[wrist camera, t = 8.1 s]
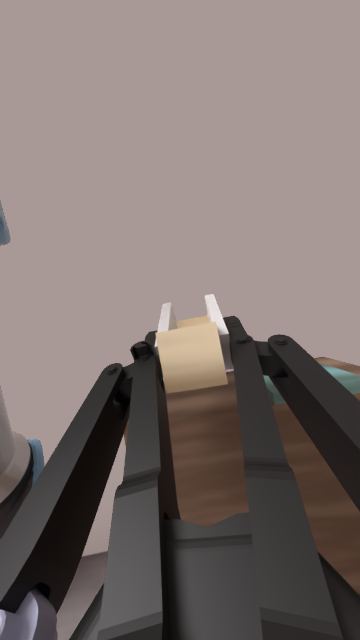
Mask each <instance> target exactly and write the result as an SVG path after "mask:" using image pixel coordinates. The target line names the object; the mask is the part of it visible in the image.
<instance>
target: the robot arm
mask: <svg viewBox="0 0 360 640" xmlns="http://www.w3.org/2000/svg"><path fill="white" fill-rule="evenodd" d="M9 242H10V235H9V230H8V226H7V223H6V220H5V216H4V213H3V209H2V206H1V202H0V245H5V244H8V243H9ZM205 301H206V308H207V312H208V319H209V323H210V322H216V324H217V330H218V335H219V340H220V345H221V350H222V355H223V360H224V365H225V370H227V369H233V368H234V377H235V386H236V395H237V405H238V414H239V423H240V432H241V441H242V450H243V460H244V470H245V479H246V488H247V498H248V507H249V513H237V514H235V515H233V516H231V517H228V518H226V519H224V520H222V521H220V522H218V523H216V524H214V525H211V526H209V527H204V526H201V525H197V524H194V523H190V522H187V521H183V520H181V517H180V513H179V509H178V503H177V494H176V484H175V475H174V466H173V457H172V447H171V438H170V429H169V419H168V410H167V401H166V392H165V384H164V381H163V372H162V367H161V361H160V356H159V350H158V345H157V339H156V334H155V333H157V332H163V331H168V330H173V329H178V327H177V323H176V319H175V316H174V312H173V308H172V304H171V303H165V304H163V306H162V311H161V316H160V322H159V326H158V330H157V331H152V332H149V333H148V334H147V335H146V337H145V341H141V342H138V343H136V344H134V345H133V346H132V347H131V349H130V351H131V353H132V355H133V358H134V363H132V364H130V365H128V366H126V367H122V365H121V364H120V363H115V364H111V365H109V366H107V367H106V368H105V369H104V370H103V371H102V373H101V375H100V376H99V378H98V380H97V381H96V383H95V384H94V386H93V388H92V389H91V391H90V393H89V394H88V396H87V398H86V399H85V401H84V403H83V404H82V406H81V407H80V409H79V411H78V413H77V414H76V416H75V418H74V419H73V421H72V422H71V424H70V426H69V428H68V429H67V431H66V432H65V434H64V436H63V437H62V439H61V441H60V442H59V444H58V446H57V447H56V449H55V451H54V452H53V454H52V455H51V457H50V459H49V460H48V462H47V464H46V466H45V467H44V457H43V451H42V446H41V443H40V441H39V440H37V439H33V440H26V439H25V438H24V437H23V436H22V435H21V434H19V433H16V432H13V431H11V428H10V423H9V419H8V415H7V411H6V407H5V403H4V399H3V395H2V391H1V387H0V640H57V631H56V623H57V618H56V614H57V612H58V610H59V609H60V607H61V605H62V603H63V600H64V598H65V596H66V594H67V591H68V589H69V587H70V585H71V582H72V580H73V578H74V575H75V572H76V570H77V567H78V564H79V562H80V559H81V556H82V554H83V551H84V548H85V545H86V542H87V539H88V536H89V533H90V530H91V527H92V524H93V521H94V519H95V516H96V513H97V510H98V506H99V504H100V501H101V498H102V495H103V492H104V489H105V486H106V483H107V480H108V478H109V475H110V472H111V469H112V466H113V463H114V460H115V457H116V454H117V451H118V448H119V445H120V442H121V440H122V437H123V434H124V431H125V428H126V425H127V422H128V419H129V423H128V434H127V445H126V456H125V466H124V477H123V482H122V484H121V485H119V486H118V487H117V490H116V493H115V498H114V505H113V514H112V523H111V531H110V539H109V547H108V556H107V564H106V573H105V581H104V584H103V585H102V587H101V589H100V590H99V592H98V594H97V595H96V597H95V598H94V600H93V602H92V603H91V605H90V607H89V608H88V610H87V611H86V613H85V615H84V616H83V618H82V620H81V621H80V623H79V625H78V626H77V628H76V629H75V631H74V633H73V634H72V636H71V638H70V639H69V640H360V595H359V594H358V593H357V592H356V591H355V590H354V589H353V588H352V587H351V585H350V584H349V583H348V582H347V581H346V580H345V579H344V578H343V577H342V576H341V575H340V574H339V573H338V572H337V571H336V570H335V569H334V568H333V566H332V565H331V564H330V563H329V562H328V561H327V560H326V559H325V558H324V557H323V556H322V555H321V554H320V553H319V552H318V551H317V549H316V546H315V542H314V539H313V535H312V532H311V529H310V525H309V522H308V518H307V515H306V512H305V508H304V505H303V501H302V498H301V494H300V491H299V488H298V484H297V481H296V478H295V475H294V472H293V470H292V468H291V467H290V466H289V464H288V462H287V458H286V455H285V451H284V448H283V444H282V441H281V437H280V433H279V430H278V426H277V423H276V419H275V416H274V412H273V408H272V405H271V401H270V398H269V394H268V391H267V387H266V383H265V380H264V376H269V378H270V380H271V381H272V383H273V384H274V386H275V387H276V389H277V390H278V392H279V393H280V395H281V396H282V397H283V399H284V400H285V402H286V403H287V405H288V406H289V408H290V409H291V411H292V412H293V414H294V415H295V417H296V418H297V420H298V421H299V423H300V424H301V426H302V427H303V429H304V430H305V432H306V433H307V435H308V436H309V437H310V439H311V440H312V442H313V443H314V445H315V446H316V448H317V449H318V451H319V452H320V454H321V455H322V457H323V458H324V460H325V461H326V463H327V464H328V466H329V467H330V469H331V470H332V472H333V473H334V475H335V476H336V478H337V479H338V480H339V482H340V483H341V485H342V486H343V488H344V489H345V491H346V492H347V494H348V495H349V497H350V498H351V500H352V501H353V503H354V504H355V506H356V507H357V509H358V510H359V512H360V401H359V400H358V399H357V398H356V397H355V396H354V395H353V394H352V393H351V392H350V391H349V390H347V389H346V388H345V387H344V386H343V385H342V384H341V383H340V382H339V381H338V380H337V379H335V378H334V377H333V376H332V375H331V374H330V373H329V372H328V371H327V370H326V369H325V368H324V367H322V366H321V365H320V364H319V363H318V362H317V361H316V360H315V359H314V358H313V357H312V356H311V355H309V354H308V353H307V352H306V351H305V350H304V349H303V348H302V347H301V346H300V345H299V344H297V343H296V342H295V341H294V340H293V339H292V338H290V337H289V336H285V335H274V336H271V337H270V338H269V339H268V342H259V341H254V340H253V338H252V337H251V336H249V335H247V333H246V331H245V330H244V328H243V326H242V324H241V323H240V320H239V319H238V318H237V317H235V316H230V317H225V318H222V315H221V313H220V310H219V308H218V305H217V303H216V300H215V298H214V295H213V294H210V295H205ZM263 375H264V376H263Z"/></svg>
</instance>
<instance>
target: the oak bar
mask: <svg viewBox="0 0 360 640" xmlns="http://www.w3.org/2000/svg"><path fill="white" fill-rule="evenodd" d="M176 323H177V327H178V329H173V330H168V331H163V332H157V333H155V334H156V339H157V345H158V350H159V356H160V361H161V367H162V372H163V378H164V383H165V389H166V394H168V393H174V392H180V391H187V390H193V389H200V388H206V387H213V386H219V385H225V384H228V381H227V375H226V370H225V365H224V360H223V355H222V350H221V345H220V340H219V335H218V330H217V324H216V322H210V323H209V319H208V315H207V316H202V317H197V318H191V319H186V320H181V321H176Z"/></svg>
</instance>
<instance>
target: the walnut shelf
mask: <svg viewBox="0 0 360 640" xmlns="http://www.w3.org/2000/svg"><path fill="white" fill-rule="evenodd" d="M314 359H315V360H316V361H317V362H318V363H319V364H320V365H321V366H322V367H324V368H325V369H326V370H327V371H328V372H329V373H330V374H331V375H332V376H333V377H334V378H335V379H337V380H338V381H339V382H340V383H341V384H342V385H343V386H344V387H345V388H346V389H347V390H349V391H350V392H351V393H352V394H353V395H354V396H355V397H356V398H357V399H358V400H359V401H360V366H356V365H353V364H349V363H345V362H340V361H337V360H333V359H329V358H325V357H319V358H314ZM226 375H227V381H228V384H225V385H219V386H213V387H206V388H200V389H193V390H187V391H180V392H174V393H168V394H166V401H167V410H168V419H169V429H170V438H171V447H172V457H173V466H174V475H175V484H176V494H177V503H178V509H179V513H180V517H181V520H183V521H187V522H190V523H194V524H197V525H201V526H204V527H209V526H211V525H214V524H216V523H218V522H220V521H222V520H224V519H226V518H228V517H231V516H233V515H235V514H237V513H249V507H248V498H247V488H246V479H245V470H244V460H243V450H242V441H241V432H240V423H239V414H238V405H237V395H236V386H235V377H234V371H231V372H226ZM263 376H264V375H263ZM264 380H265V383H266V387H267V391H268V394H269V398H270V401H271V405H272V408H273V412H274V416H275V419H276V423H277V426H278V430H279V433H280V437H281V441H282V444H283V448H284V451H285V455H286V458H287V462H288V464H289V466H290V467H291V468H292V470H293V472H294V475H295V478H296V481H297V484H298V488H299V491H300V494H301V498H302V501H303V505H304V508H305V512H306V515H307V518H308V522H309V525H310V529H311V532H312V535H313V539H314V542H315V546H316V549H317V551H318V552H319V553H320V554H321V555H322V556H323V557H324V558H325V559H326V560H327V561H328V562H329V563H330V564H331V565H332V566H333V568H334V569H335V570H336V571H337V572H338V573H339V574H340V575H341V576H342V577H343V578H344V579H345V580H346V581H347V582H348V583H349V584H350V585H351V587H352V588H353V589H354V590H355V591H356V592H357V593H358V594H359V595H360V512H359V510H358V509H357V507H356V506H355V504H354V503H353V501H352V500H351V498H350V497H349V495H348V494H347V492H346V491H345V489H344V488H343V486H342V485H341V483H340V482H339V480H338V479H337V478H336V476H335V475H334V473H333V472H332V470H331V469H330V467H329V466H328V464H327V463H326V461H325V460H324V458H323V457H322V455H321V454H320V452H319V451H318V449H317V448H316V446H315V445H314V443H313V442H312V440H311V439H310V437H309V436H308V435H307V433H306V432H305V430H304V429H303V427H302V426H301V424H300V423H299V421H298V420H297V418H296V417H295V415H294V414H293V412H292V411H291V409H290V408H289V406H288V405H287V403H286V402H285V400H284V399H283V397H282V396H281V395H280V393H279V392H278V390H277V389H276V387H275V386H274V384H273V383H272V381H271V380H270V378H269V376H264ZM164 384H165V383H164ZM165 392H166V389H165ZM128 423H129V419H128V422H127V425H126V428H125V431H124V438H125V444H126V445H127V434H128Z"/></svg>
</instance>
